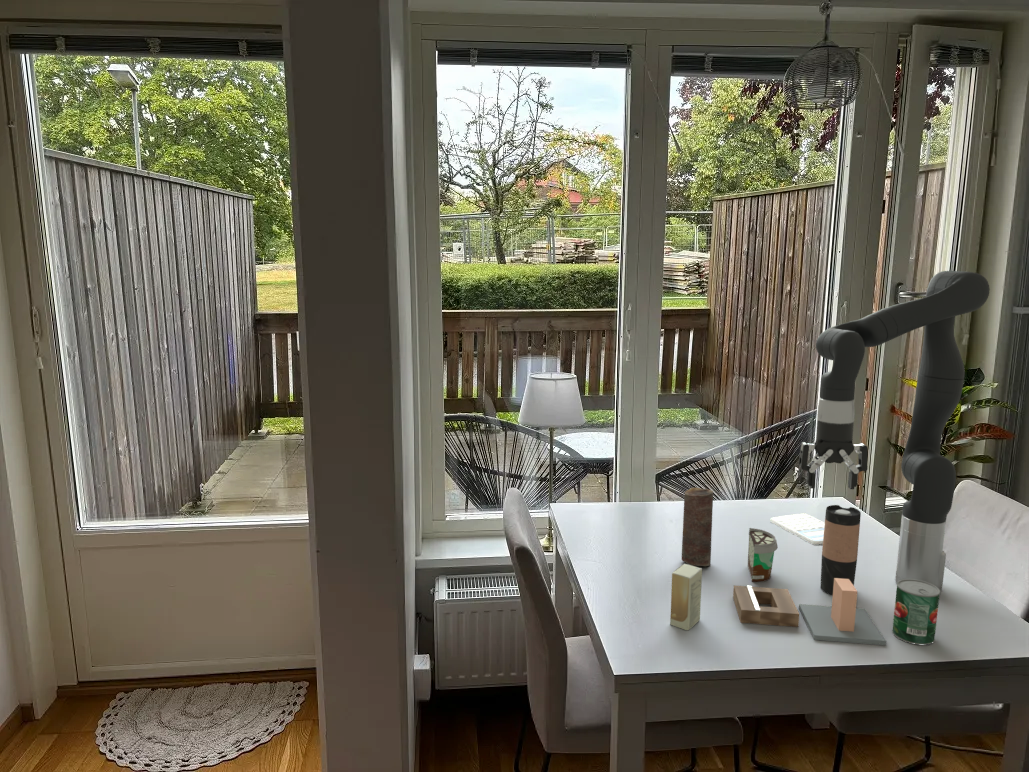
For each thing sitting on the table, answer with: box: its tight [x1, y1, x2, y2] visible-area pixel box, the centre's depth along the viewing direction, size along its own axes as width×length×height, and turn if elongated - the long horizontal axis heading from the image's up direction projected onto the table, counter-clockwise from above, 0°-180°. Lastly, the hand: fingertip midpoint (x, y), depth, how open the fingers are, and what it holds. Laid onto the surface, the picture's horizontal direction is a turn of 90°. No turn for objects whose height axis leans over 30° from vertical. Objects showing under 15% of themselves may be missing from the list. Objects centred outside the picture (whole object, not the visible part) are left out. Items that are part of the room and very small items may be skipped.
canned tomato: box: [891, 579, 941, 645], centre depth 151 cm, size 8×8×11 cm
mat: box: [798, 603, 887, 646], centre depth 156 cm, size 14×14×1 cm
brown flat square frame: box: [732, 584, 800, 628], centre depth 162 cm, size 12×12×3 cm
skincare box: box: [669, 563, 703, 631], centre depth 156 cm, size 6×4×12 cm
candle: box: [681, 487, 714, 567], centre depth 186 cm, size 8×7×20 cm
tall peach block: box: [831, 578, 858, 632], centre depth 154 cm, size 3×6×9 cm, turn 171°
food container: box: [747, 527, 778, 583], centre depth 181 cm, size 12×6×10 cm, turn 168°
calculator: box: [769, 512, 825, 546], centre depth 212 cm, size 13×20×2 cm, turn 18°
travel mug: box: [820, 504, 862, 596], centre depth 172 cm, size 8×8×20 cm
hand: (831, 488), depth 165 cm, fingers open, 8 cm apart
